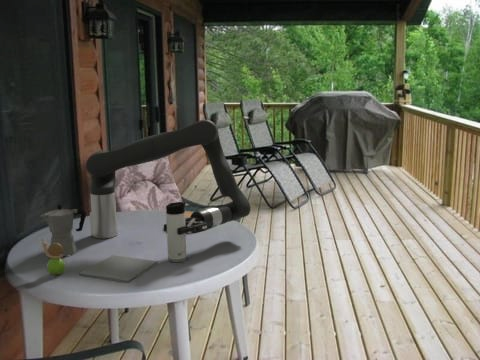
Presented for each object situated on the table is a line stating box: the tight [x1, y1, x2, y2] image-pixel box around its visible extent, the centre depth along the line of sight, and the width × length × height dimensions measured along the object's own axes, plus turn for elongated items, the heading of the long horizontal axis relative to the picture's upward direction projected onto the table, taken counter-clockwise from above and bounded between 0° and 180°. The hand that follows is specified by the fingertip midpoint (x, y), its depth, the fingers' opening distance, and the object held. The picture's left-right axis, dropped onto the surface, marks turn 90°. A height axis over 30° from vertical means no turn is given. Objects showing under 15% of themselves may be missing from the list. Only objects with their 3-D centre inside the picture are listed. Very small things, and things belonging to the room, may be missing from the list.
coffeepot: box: [39, 203, 87, 257], centre depth 192 cm, size 15×9×18 cm, turn 115°
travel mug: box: [165, 201, 187, 263], centre depth 183 cm, size 6×7×20 cm
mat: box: [79, 254, 159, 283], centre depth 177 cm, size 18×18×1 cm
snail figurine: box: [41, 237, 66, 276], centre depth 172 cm, size 5×6×12 cm
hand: (171, 229), depth 181 cm, fingers closed on travel mug, 6 cm apart
